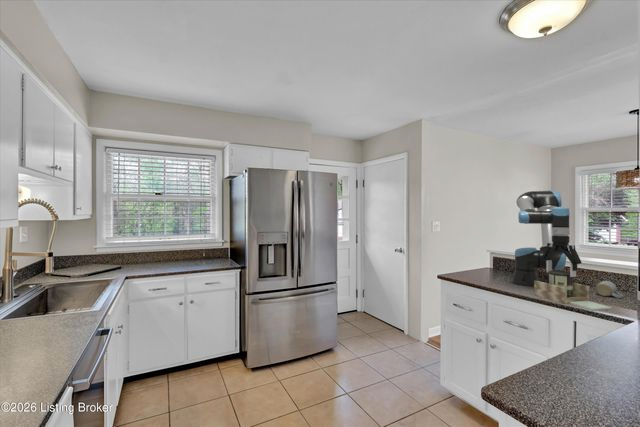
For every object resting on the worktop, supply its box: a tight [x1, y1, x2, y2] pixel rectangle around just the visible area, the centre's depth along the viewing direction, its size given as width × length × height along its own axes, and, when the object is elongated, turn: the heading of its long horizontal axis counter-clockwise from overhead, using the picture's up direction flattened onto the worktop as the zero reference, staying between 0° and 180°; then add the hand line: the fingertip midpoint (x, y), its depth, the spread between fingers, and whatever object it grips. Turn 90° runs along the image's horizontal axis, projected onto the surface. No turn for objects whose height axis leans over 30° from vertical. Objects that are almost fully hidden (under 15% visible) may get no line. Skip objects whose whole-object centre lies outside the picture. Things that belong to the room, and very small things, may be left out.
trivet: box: [569, 300, 613, 311], centre depth 150 cm, size 11×11×1 cm
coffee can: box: [548, 270, 574, 298], centre depth 164 cm, size 10×10×14 cm
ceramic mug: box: [595, 280, 624, 299], centre depth 167 cm, size 11×8×8 cm
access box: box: [533, 280, 590, 305], centre depth 164 cm, size 17×16×8 cm
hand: (560, 274), depth 163 cm, fingers open, 13 cm apart
